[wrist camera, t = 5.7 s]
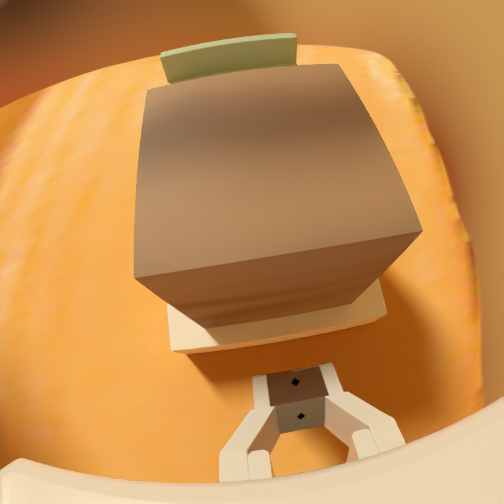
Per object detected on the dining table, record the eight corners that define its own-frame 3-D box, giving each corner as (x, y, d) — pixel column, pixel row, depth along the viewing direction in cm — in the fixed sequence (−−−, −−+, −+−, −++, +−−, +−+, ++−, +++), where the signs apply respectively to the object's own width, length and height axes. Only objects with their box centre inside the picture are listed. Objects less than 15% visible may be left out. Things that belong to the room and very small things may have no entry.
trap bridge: (371, 322, 18) (409, 300, 13) (186, 354, 18) (150, 345, 13) (292, 81, 28) (294, 32, 22) (175, 99, 28) (160, 52, 22)
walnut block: (351, 303, 16) (422, 230, 8) (204, 328, 16) (134, 278, 8) (317, 181, 19) (338, 63, 11) (193, 201, 19) (147, 90, 11)
